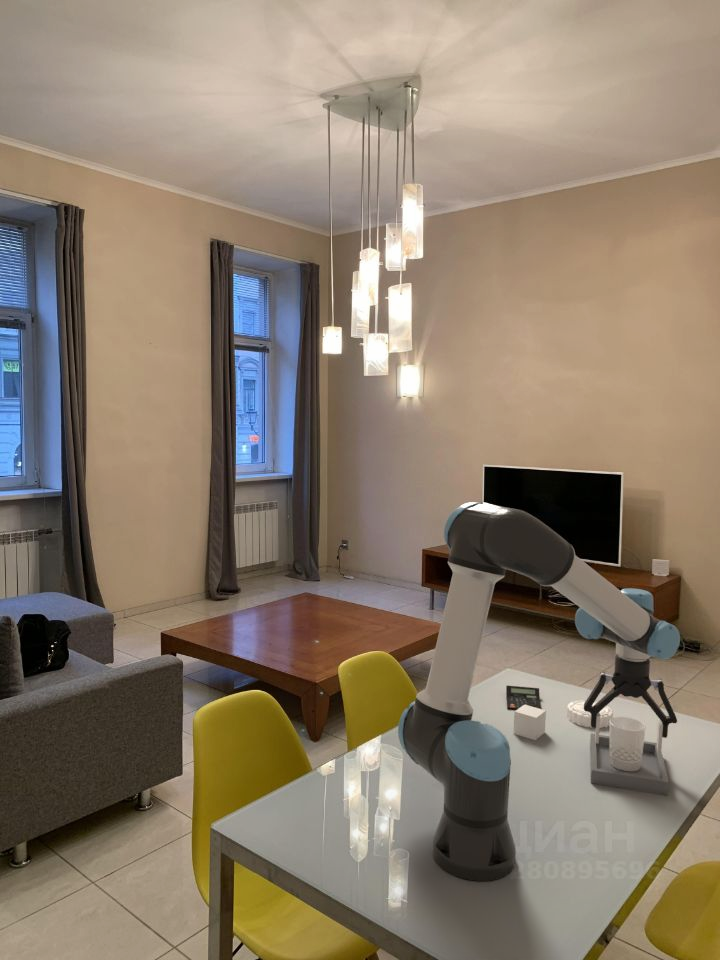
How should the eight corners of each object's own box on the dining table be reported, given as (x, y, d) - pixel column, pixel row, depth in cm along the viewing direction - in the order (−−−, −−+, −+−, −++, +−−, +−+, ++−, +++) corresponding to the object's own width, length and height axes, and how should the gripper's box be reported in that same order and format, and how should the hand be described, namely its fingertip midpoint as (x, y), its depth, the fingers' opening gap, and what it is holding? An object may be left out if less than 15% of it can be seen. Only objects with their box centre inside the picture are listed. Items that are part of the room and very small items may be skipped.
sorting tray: (667, 795, 157) (668, 782, 157) (590, 782, 162) (591, 770, 162) (658, 755, 177) (659, 743, 176) (589, 745, 181) (590, 733, 181)
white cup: (617, 754, 175) (619, 713, 174) (649, 765, 169) (651, 724, 168) (601, 764, 169) (603, 722, 169) (633, 776, 164) (636, 733, 163)
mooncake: (569, 726, 192) (570, 713, 192) (563, 709, 204) (564, 696, 204) (616, 730, 191) (617, 717, 190) (608, 712, 202) (608, 700, 202)
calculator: (507, 710, 203) (507, 700, 202) (505, 694, 214) (506, 684, 214) (541, 713, 201) (542, 703, 201) (538, 697, 212) (538, 687, 212)
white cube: (523, 726, 192) (524, 704, 191) (544, 732, 188) (546, 710, 188) (513, 733, 187) (514, 711, 186) (535, 740, 183) (536, 717, 183)
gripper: (689, 658, 167) (683, 746, 169) (576, 645, 174) (571, 730, 176) (694, 668, 160) (687, 761, 162) (576, 655, 167) (571, 743, 169)
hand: (627, 745), depth 169 cm, fingers open, 13 cm apart
